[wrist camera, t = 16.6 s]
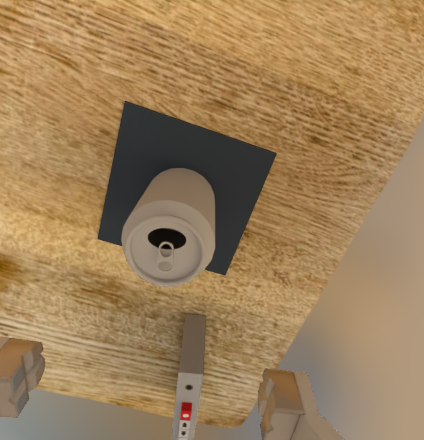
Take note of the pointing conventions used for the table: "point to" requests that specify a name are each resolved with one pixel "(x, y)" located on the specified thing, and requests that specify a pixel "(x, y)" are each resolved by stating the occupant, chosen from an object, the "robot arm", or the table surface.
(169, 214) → the can
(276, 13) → the table surface
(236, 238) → the mat
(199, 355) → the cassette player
